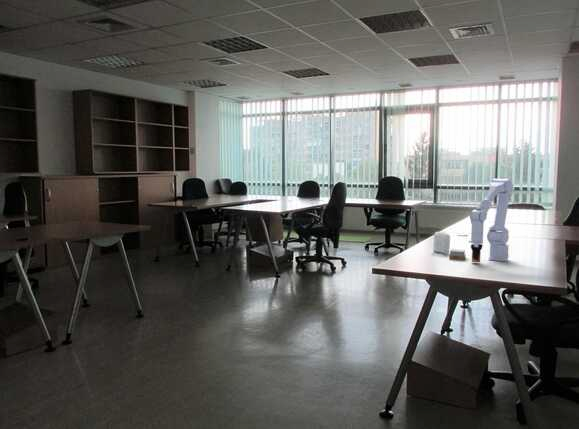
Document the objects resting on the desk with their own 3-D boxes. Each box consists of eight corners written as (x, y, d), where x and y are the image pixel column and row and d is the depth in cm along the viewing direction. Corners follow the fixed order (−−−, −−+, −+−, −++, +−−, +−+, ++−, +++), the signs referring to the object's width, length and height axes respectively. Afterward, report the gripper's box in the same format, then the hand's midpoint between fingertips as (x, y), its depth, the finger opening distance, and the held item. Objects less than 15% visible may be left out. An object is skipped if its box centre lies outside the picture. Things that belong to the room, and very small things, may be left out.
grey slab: (464, 254, 266) (464, 250, 266) (463, 256, 260) (463, 252, 260) (451, 253, 269) (451, 249, 269) (450, 255, 263) (450, 250, 262)
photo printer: (450, 253, 280) (451, 232, 278) (445, 254, 278) (446, 233, 276) (437, 250, 289) (438, 230, 287) (432, 251, 287) (433, 230, 285)
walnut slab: (465, 258, 267) (465, 254, 266) (464, 261, 259) (464, 256, 259) (450, 257, 270) (450, 253, 270) (449, 260, 262) (449, 255, 262)
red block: (480, 261, 252) (480, 251, 252) (479, 262, 249) (480, 252, 248) (472, 260, 254) (472, 251, 254) (471, 261, 250) (472, 252, 250)
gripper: (469, 230, 258) (468, 255, 259) (468, 234, 245) (467, 260, 246) (483, 231, 255) (482, 256, 257) (483, 235, 242) (481, 261, 243)
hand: (476, 258), depth 251 cm, fingers closed on red block, 4 cm apart
